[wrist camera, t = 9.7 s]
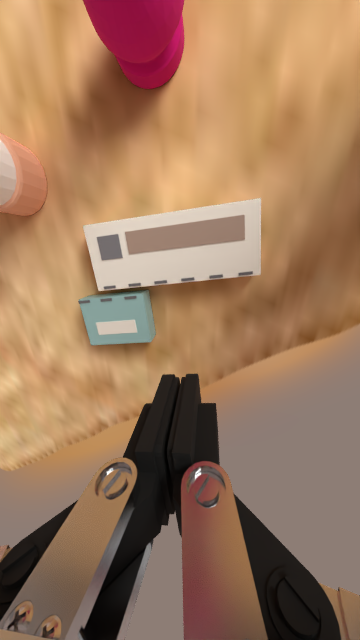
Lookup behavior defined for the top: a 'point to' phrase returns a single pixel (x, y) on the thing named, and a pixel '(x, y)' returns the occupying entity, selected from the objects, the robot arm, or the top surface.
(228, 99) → the top surface
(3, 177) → the pepper shaker
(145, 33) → the pepper mill
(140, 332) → the stub
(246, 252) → the ticket
